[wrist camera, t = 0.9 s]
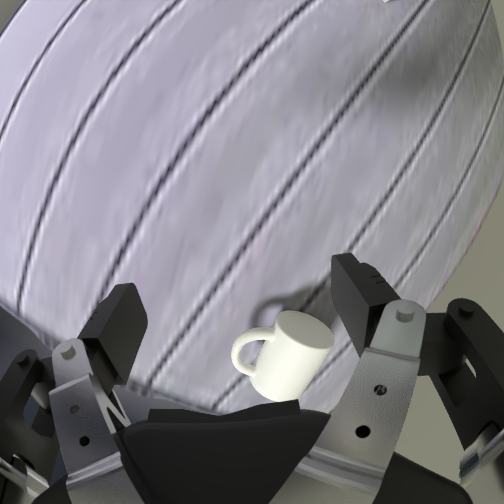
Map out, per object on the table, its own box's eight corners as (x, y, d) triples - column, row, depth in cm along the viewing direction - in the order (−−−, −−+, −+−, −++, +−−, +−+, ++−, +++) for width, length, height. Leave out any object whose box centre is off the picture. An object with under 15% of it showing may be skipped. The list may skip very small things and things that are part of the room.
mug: (321, 315, 38) (345, 351, 31) (292, 366, 41) (308, 403, 34) (240, 298, 35) (251, 338, 27) (218, 355, 38) (223, 398, 30)
